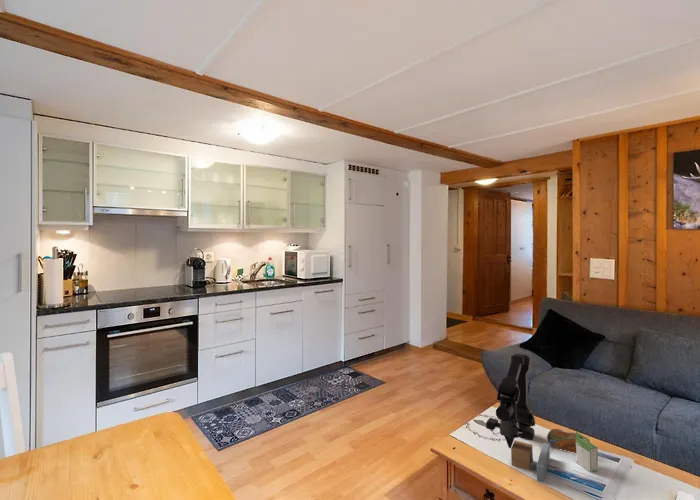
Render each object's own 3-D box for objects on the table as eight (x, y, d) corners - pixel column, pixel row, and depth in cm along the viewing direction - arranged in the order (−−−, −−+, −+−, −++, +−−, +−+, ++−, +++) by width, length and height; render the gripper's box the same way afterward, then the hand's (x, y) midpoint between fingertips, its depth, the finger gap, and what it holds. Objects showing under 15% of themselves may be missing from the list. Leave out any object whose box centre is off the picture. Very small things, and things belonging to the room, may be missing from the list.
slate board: (543, 456, 159) (543, 442, 159) (549, 458, 157) (549, 444, 157) (537, 481, 142) (536, 465, 142) (543, 483, 141) (543, 467, 141)
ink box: (598, 471, 148) (597, 438, 148) (590, 472, 147) (589, 439, 147) (584, 461, 154) (583, 430, 154) (576, 462, 154) (575, 431, 154)
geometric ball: (499, 424, 194) (493, 408, 198) (514, 421, 191) (508, 405, 196) (496, 422, 188) (491, 406, 193) (512, 419, 185) (506, 403, 190)
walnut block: (515, 456, 160) (514, 440, 160) (532, 460, 156) (532, 444, 156) (511, 465, 153) (511, 448, 153) (529, 470, 149) (529, 453, 149)
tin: (547, 446, 167) (546, 428, 167) (548, 443, 169) (547, 425, 169) (586, 457, 157) (585, 437, 157) (586, 453, 160) (586, 434, 160)
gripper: (482, 413, 156) (482, 450, 156) (529, 425, 145) (530, 464, 145) (488, 404, 165) (489, 438, 165) (534, 414, 154) (535, 451, 154)
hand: (510, 447), depth 157 cm, fingers closed
